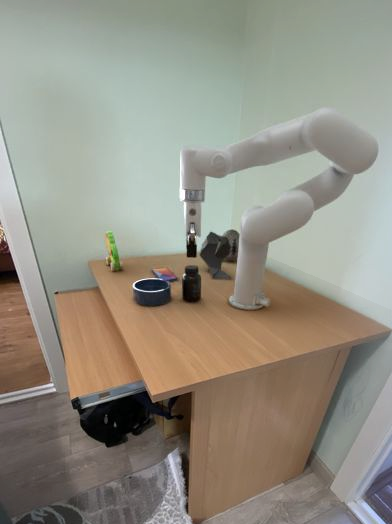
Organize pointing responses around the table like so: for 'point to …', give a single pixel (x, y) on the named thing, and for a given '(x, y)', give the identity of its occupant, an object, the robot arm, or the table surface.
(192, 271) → the supplement bottle
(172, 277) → the smartphone
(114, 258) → the green toy figure
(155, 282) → the bowl
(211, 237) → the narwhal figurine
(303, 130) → the robot arm
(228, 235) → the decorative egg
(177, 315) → the table surface
